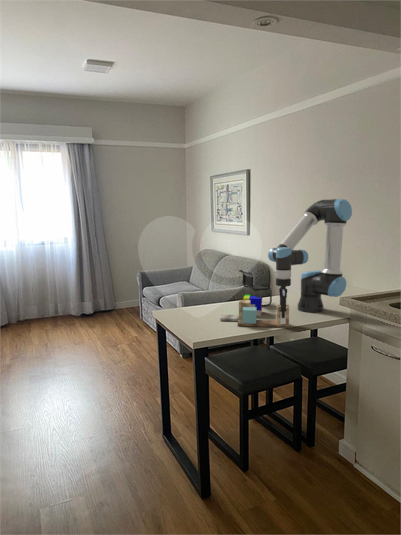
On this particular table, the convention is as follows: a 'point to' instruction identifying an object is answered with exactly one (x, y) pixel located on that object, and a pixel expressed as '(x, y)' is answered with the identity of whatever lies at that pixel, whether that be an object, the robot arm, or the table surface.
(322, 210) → the robot arm
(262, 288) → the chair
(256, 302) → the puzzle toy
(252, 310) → the cube
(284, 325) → the lane front
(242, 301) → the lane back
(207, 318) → the table surface
